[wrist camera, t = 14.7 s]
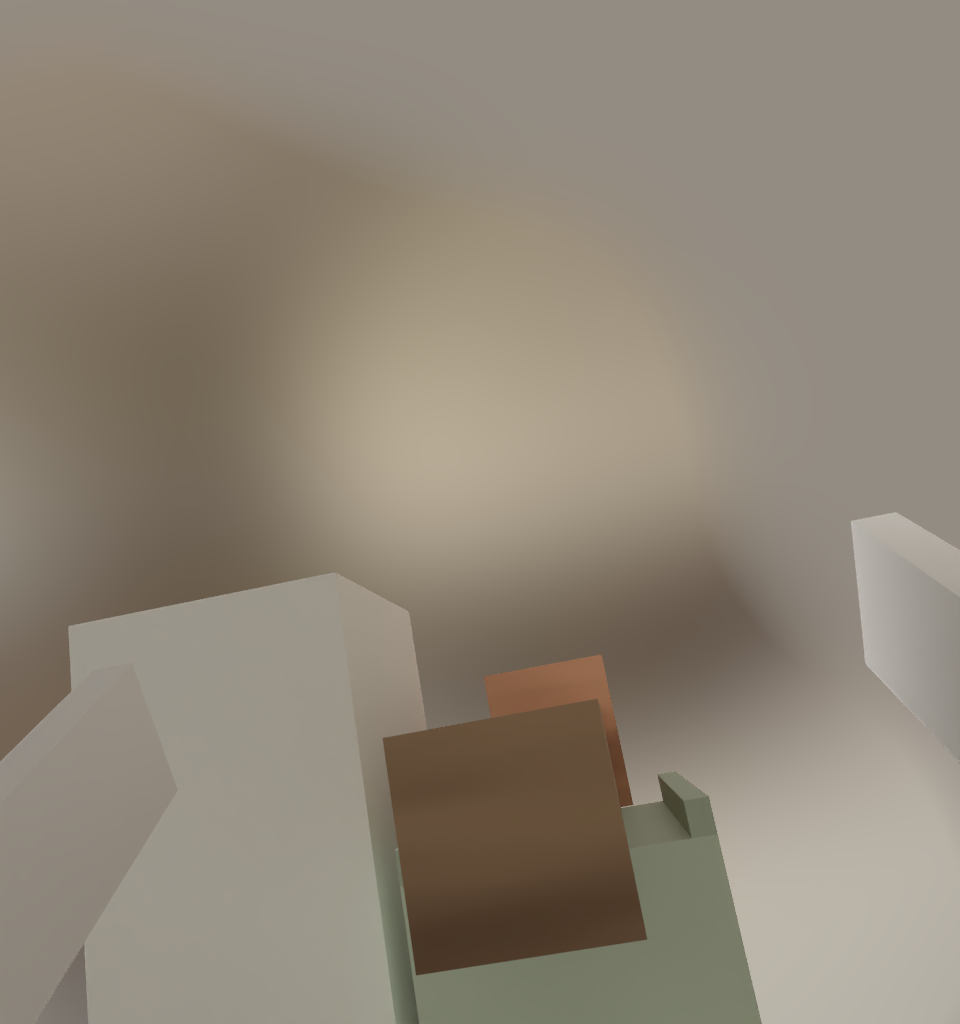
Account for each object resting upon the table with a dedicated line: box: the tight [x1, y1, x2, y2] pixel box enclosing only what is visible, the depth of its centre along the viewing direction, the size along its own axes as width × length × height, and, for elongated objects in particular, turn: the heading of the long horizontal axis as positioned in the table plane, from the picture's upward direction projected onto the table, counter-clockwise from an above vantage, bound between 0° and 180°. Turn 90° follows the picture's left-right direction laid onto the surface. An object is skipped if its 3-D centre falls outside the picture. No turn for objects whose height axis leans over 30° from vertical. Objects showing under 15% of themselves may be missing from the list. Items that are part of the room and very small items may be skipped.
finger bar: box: [383, 655, 647, 975], centre depth 27 cm, size 26×5×6 cm, turn 172°
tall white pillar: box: [68, 573, 427, 1024], centre depth 32 cm, size 12×10×30 cm
